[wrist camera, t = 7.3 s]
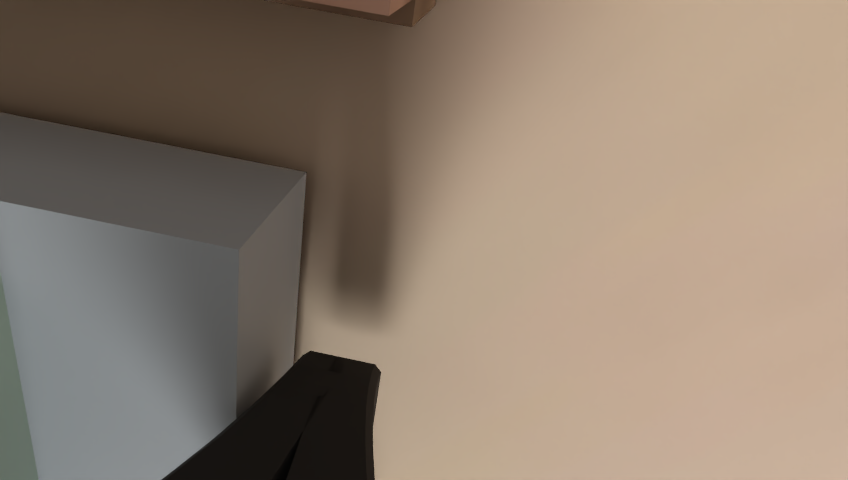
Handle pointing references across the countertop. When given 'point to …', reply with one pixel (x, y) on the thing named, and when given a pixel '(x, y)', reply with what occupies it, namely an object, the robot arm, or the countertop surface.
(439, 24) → the countertop surface
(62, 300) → the stacked grey base
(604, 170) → the countertop surface
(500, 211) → the countertop surface
